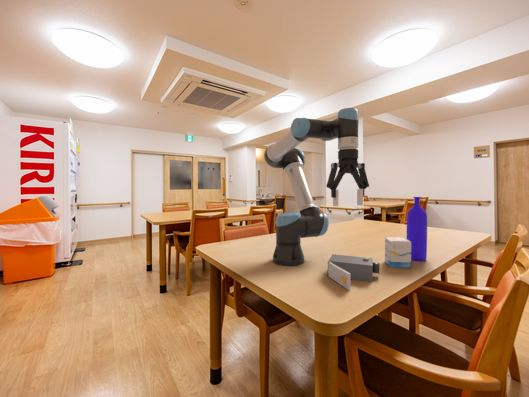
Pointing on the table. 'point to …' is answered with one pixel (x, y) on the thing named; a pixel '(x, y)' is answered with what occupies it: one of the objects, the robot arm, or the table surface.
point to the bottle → (417, 231)
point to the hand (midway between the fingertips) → (348, 205)
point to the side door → (339, 275)
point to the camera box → (356, 266)
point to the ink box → (398, 252)
